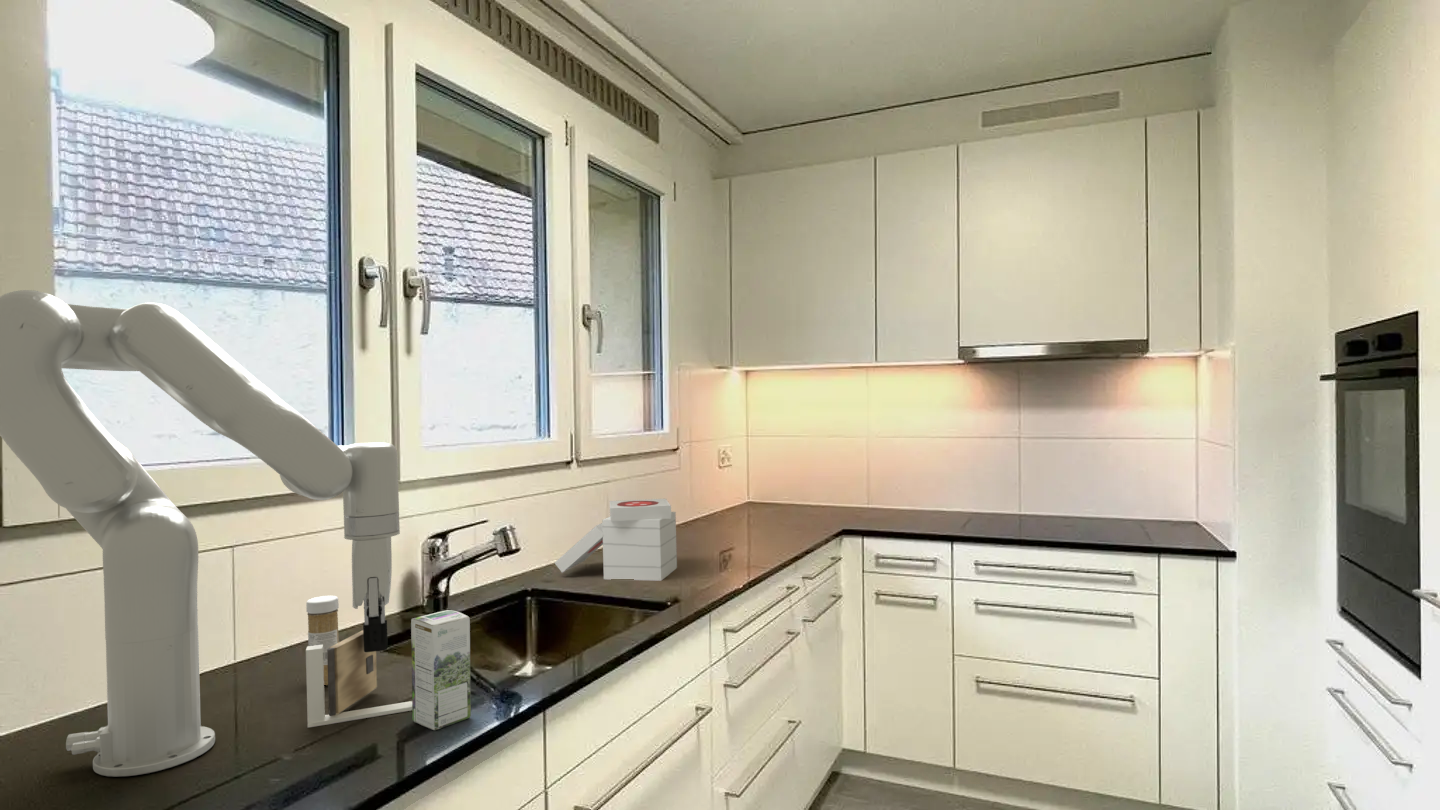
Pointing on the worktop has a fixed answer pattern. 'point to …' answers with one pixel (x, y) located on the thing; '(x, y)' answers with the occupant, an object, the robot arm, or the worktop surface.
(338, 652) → the door
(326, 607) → the sprinkles bottle
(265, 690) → the worktop surface
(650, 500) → the stacked pizza boxes
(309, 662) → the door frame
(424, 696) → the syrup box
